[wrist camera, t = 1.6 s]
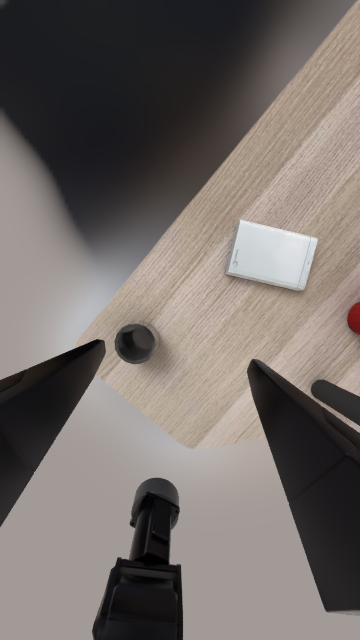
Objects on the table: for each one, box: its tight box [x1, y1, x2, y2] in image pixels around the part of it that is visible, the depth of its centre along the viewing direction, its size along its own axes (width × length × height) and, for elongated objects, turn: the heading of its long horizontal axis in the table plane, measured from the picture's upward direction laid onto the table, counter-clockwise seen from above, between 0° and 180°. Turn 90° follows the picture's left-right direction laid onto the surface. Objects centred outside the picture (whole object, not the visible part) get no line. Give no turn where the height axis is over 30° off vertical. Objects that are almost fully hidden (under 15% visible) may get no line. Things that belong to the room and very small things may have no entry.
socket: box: [115, 322, 159, 364], centre depth 24 cm, size 6×6×4 cm
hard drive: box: [225, 220, 318, 291], centre depth 24 cm, size 2×8×12 cm
